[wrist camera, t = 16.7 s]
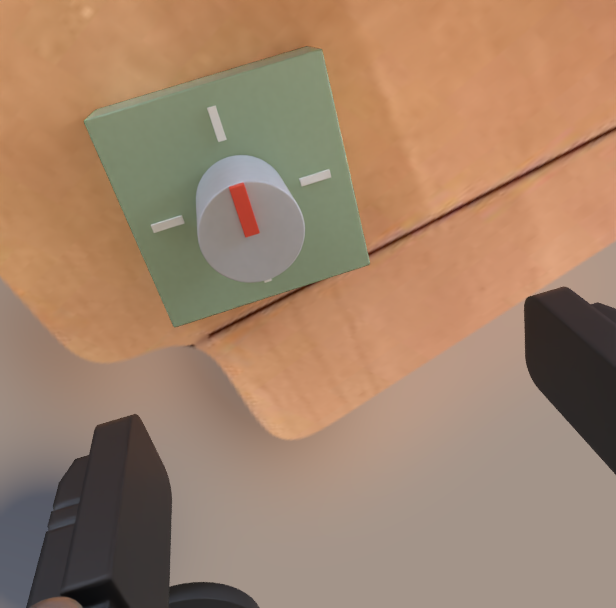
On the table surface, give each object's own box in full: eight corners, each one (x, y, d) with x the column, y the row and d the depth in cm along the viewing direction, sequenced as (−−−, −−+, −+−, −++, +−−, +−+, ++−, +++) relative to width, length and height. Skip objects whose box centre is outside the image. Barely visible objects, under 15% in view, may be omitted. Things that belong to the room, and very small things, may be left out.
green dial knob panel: (354, 243, 30) (371, 266, 27) (174, 301, 30) (173, 330, 27) (308, 45, 25) (323, 48, 23) (93, 110, 25) (81, 121, 22)
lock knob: (296, 228, 26) (318, 268, 22) (213, 254, 26) (218, 300, 22) (272, 143, 24) (290, 168, 20) (182, 170, 24) (181, 202, 20)
